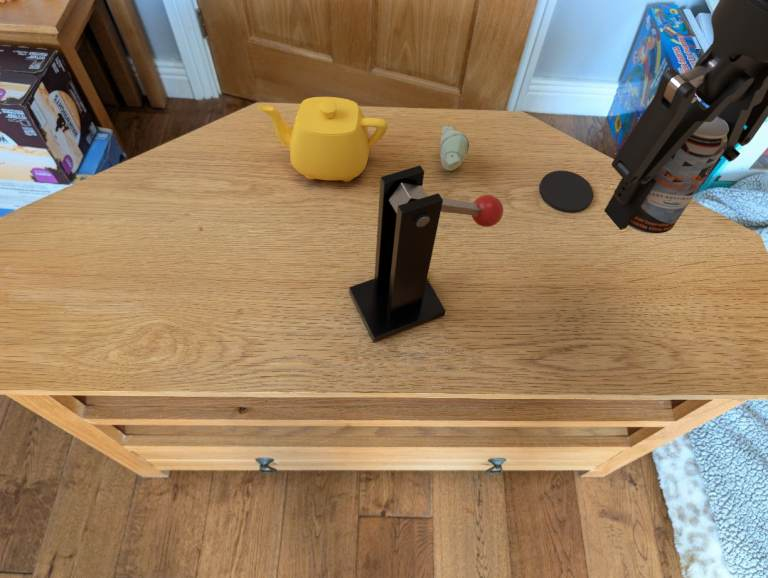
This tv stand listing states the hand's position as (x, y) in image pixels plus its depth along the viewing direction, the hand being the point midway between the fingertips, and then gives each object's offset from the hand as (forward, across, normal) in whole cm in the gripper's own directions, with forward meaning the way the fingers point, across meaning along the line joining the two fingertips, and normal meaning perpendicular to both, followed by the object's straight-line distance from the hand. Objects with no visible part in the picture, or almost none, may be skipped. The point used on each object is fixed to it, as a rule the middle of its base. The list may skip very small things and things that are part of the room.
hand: (645, 208), depth 57 cm
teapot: (+20, -21, +37) cm, 47 cm away
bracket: (+20, -22, +10) cm, 31 cm away
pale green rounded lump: (+20, -4, +29) cm, 35 cm away
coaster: (+19, +10, +18) cm, 28 cm away
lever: (+4, -18, +10) cm, 21 cm away
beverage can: (+1, 0, 0) cm, 1 cm away
